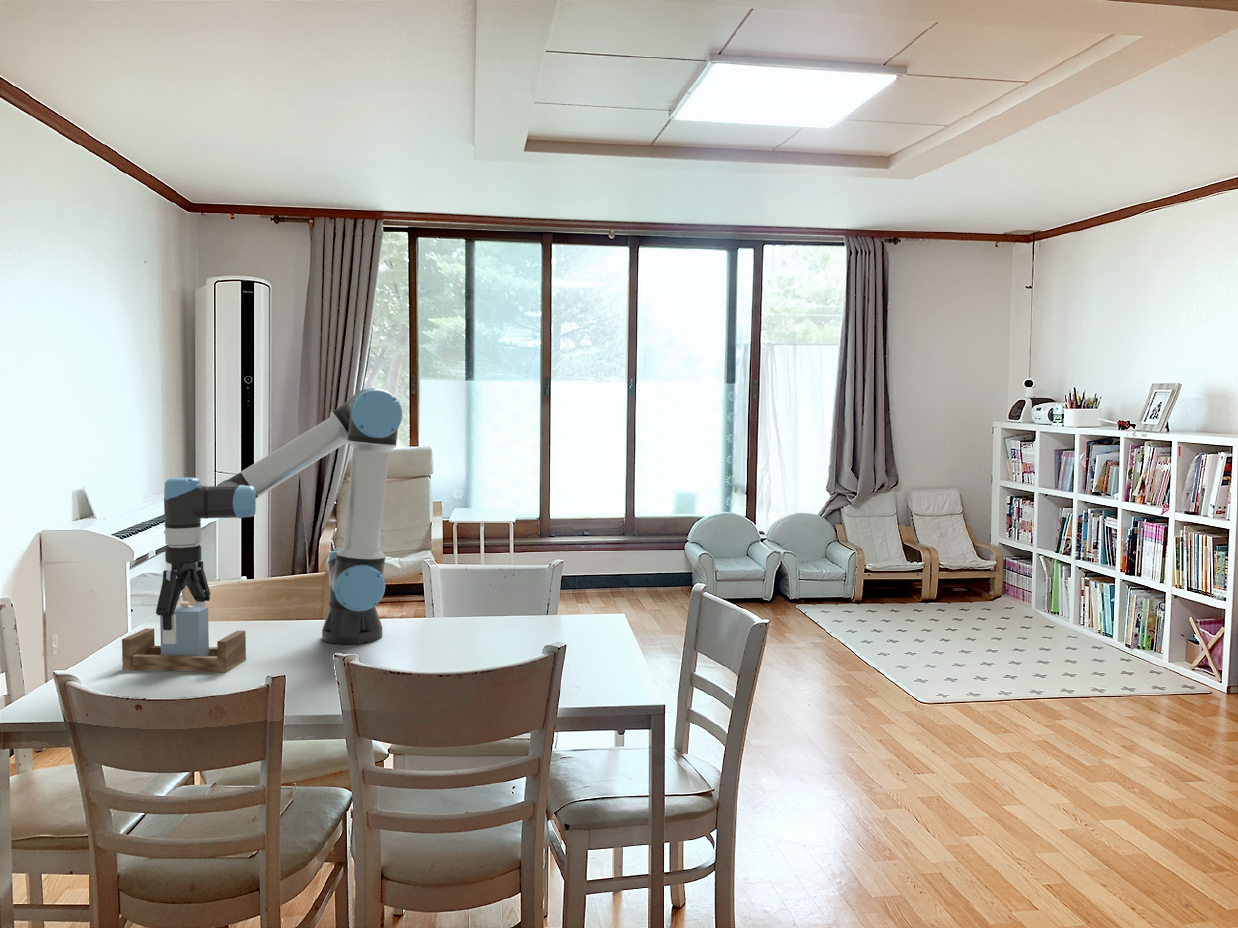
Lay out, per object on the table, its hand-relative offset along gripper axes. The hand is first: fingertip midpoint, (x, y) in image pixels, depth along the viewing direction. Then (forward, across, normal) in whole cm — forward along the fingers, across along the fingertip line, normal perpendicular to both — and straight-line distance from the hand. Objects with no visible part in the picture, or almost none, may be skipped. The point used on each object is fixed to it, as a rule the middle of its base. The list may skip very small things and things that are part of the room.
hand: (185, 636), depth 216 cm
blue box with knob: (+6, 0, 0) cm, 6 cm away
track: (+7, 0, 0) cm, 7 cm away
